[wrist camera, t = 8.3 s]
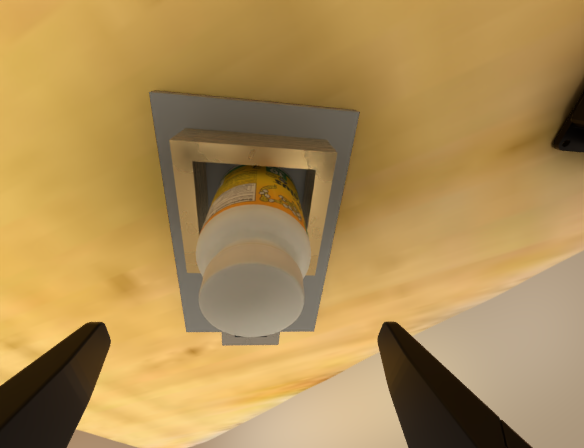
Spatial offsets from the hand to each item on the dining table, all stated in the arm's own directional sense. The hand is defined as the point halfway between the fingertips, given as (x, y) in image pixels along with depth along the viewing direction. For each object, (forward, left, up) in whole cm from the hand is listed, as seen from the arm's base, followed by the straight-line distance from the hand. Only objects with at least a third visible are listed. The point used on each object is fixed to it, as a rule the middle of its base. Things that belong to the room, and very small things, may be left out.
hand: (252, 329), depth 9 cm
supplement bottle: (0, 0, -11) cm, 11 cm away
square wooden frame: (0, 0, -12) cm, 12 cm away
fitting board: (0, +4, -12) cm, 13 cm away
